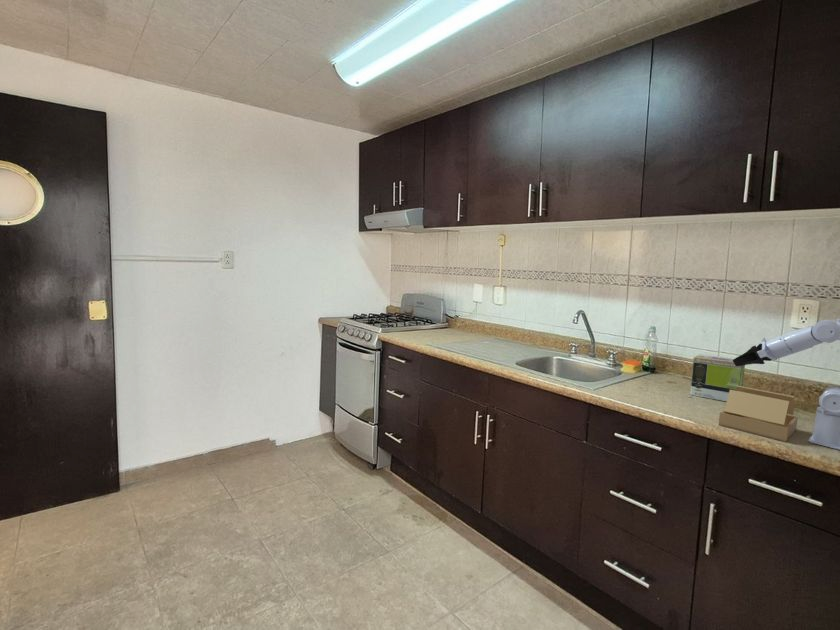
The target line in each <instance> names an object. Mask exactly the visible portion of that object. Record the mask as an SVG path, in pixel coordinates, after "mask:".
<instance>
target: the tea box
mask: <svg viewBox="0 0 840 630" xmlns="http://www.w3.org/2000/svg"><path fill="white" fill-rule="evenodd" d="M733 359H734V358H730V357H723V356H714V355H705V354H697V355H696V356H694V357H693V362H692V372H691V373H692V374H691V384H690V396H695V397H701V398H705V399H706V398H707V399H711V400H716V401H723V402H727V399H728V395H729V391H730V390H735V391H737V386H742V387H744V378H745V369H746V368H745V366H746V365H743V366H735V364H734V362H733Z"/></svg>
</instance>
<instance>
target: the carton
mask: <svg viewBox="0 0 840 630" xmlns="http://www.w3.org/2000/svg"><path fill="white" fill-rule="evenodd" d="M724 410H725V408H724V409H723V410H721V411H720V412H719V416H718V417H719V418H718V426H720V427H724V428H728V429H732V430H736V431H739V432H744V433H747V434H752V435H755V436H759V437H764V438H767V439H772V440H775V441H780V442H783V443H787V442H788V441H789V439H791V437H792V436H793V435H794V433H795V432H796V431H797V426H798V425H797V424H798V419H799V418H798V417H797V416H794V415H791V414H786V418H785V423H784V425H781V424H776V423H772V422H768V421H763V420H759V419H755V418H751V417H746V416H742V415H738V414H733V413H729V412H725V411H724Z"/></svg>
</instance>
